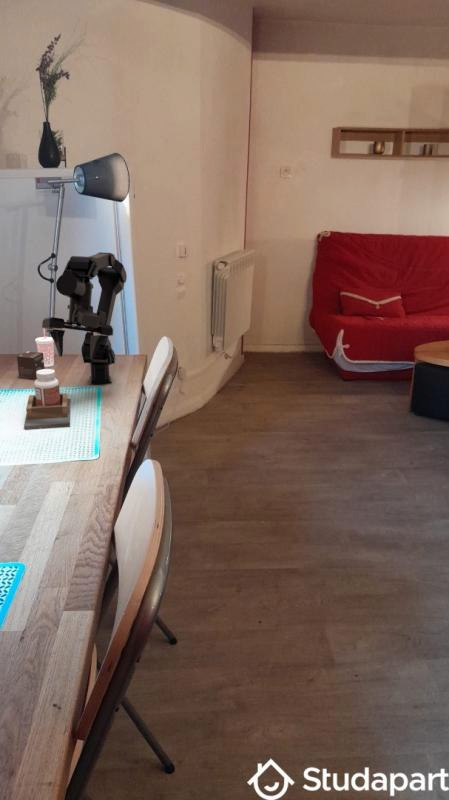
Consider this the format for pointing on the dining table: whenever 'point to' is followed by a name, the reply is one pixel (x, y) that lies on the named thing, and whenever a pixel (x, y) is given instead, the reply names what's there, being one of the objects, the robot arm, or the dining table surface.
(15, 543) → the dining table surface
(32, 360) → the box
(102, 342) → the robot arm
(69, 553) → the dining table surface
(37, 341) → the beverage cup
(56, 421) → the socket
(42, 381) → the pill bottle
